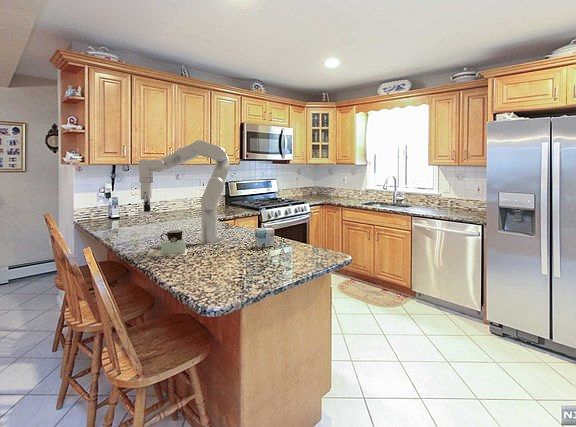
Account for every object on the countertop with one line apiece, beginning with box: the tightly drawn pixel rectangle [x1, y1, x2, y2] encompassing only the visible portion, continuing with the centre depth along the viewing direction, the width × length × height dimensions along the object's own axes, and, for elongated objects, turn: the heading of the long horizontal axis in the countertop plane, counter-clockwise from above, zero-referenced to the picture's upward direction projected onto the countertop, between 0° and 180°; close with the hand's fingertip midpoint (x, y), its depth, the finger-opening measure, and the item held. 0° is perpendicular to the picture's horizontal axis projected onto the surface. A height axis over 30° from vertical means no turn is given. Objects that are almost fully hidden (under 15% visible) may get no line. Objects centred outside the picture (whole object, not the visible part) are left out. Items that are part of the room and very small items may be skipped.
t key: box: [137, 210, 158, 215], centre depth 212 cm, size 2×10×6 cm, turn 103°
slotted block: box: [160, 239, 187, 254], centre depth 192 cm, size 12×6×6 cm, turn 103°
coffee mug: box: [160, 229, 183, 242], centre depth 209 cm, size 12×9×10 cm
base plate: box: [146, 248, 188, 257], centre depth 192 cm, size 20×14×2 cm
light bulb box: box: [254, 227, 275, 248], centre depth 218 cm, size 11×7×11 cm, turn 112°
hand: (147, 211), depth 213 cm, fingers closed on t key, 2 cm apart
